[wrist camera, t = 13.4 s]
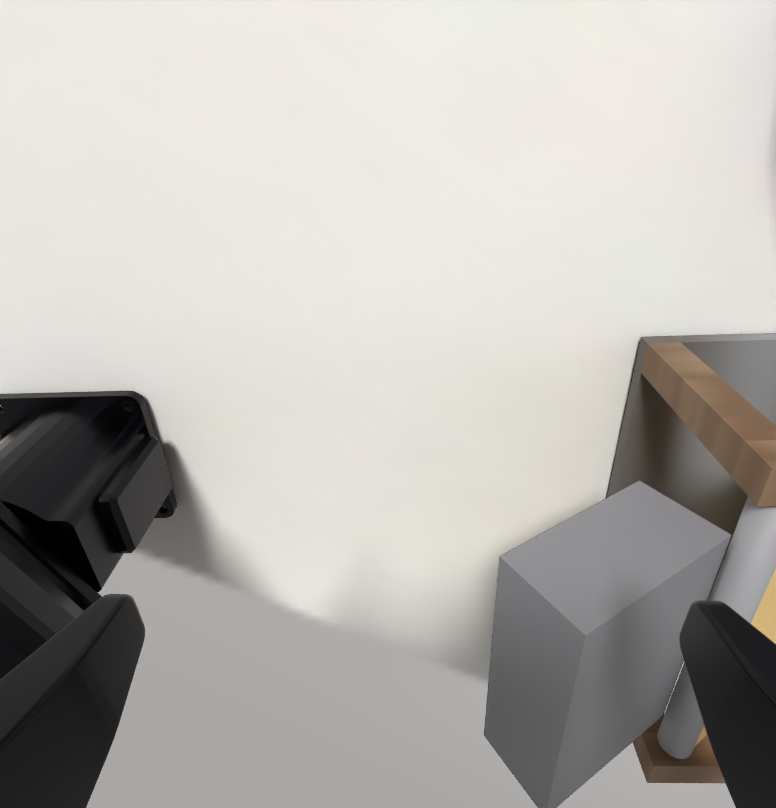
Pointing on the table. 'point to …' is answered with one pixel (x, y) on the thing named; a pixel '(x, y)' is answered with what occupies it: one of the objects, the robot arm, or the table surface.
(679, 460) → the frame
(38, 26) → the table surface
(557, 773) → the trapdoor
